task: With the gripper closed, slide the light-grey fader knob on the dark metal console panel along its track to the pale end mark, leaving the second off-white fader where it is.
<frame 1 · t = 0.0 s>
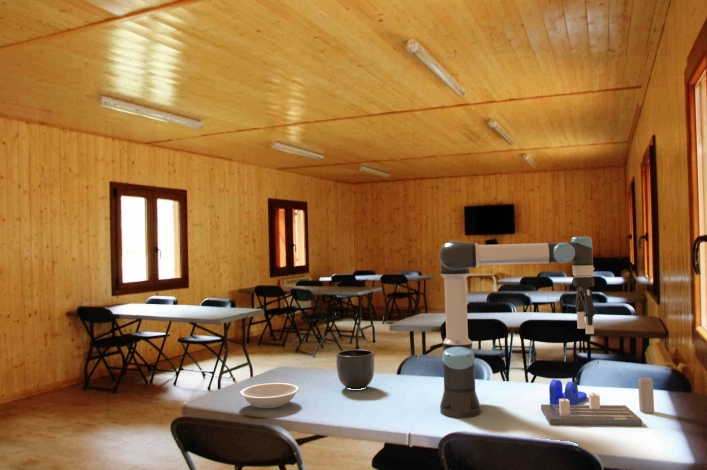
hand: (585, 331, 222), 28 cm above the table, fingers open, 13 cm apart
beverage can: (646, 412, 209), on the table
planter: (356, 389, 257), on the table
soup bowl: (270, 406, 233), on the table
fader b: (594, 401, 208), point 5 cm above the table, slide at 12.0 cm
bracket: (570, 401, 227), on the table
fader a: (564, 407, 202), point 5 cm above the table, slide at 0.0 cm
console: (588, 417, 205), on the table
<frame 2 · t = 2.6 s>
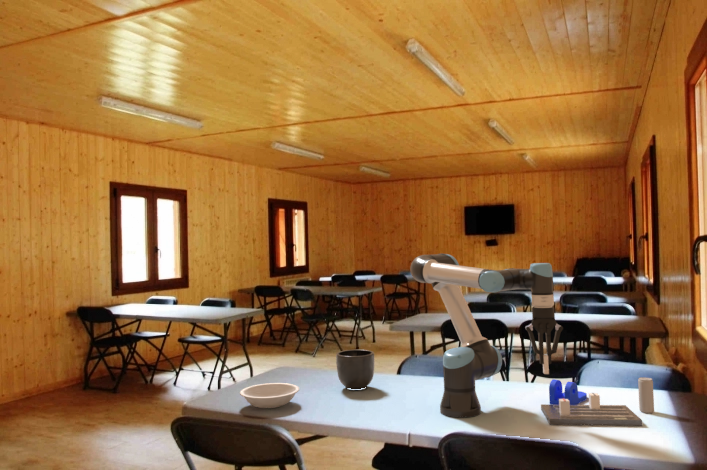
hand: (546, 373, 203), 17 cm above the table, fingers closed
nothing on the table moved.
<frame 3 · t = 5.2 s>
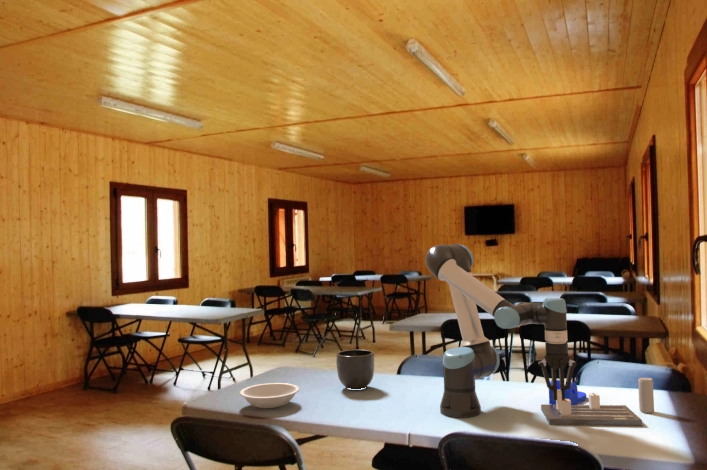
hand: (559, 409, 202), 4 cm above the table, fingers closed
fader a: (565, 407, 202), point 5 cm above the table, slide at 0.5 cm, touching gripper
everything else where it was.
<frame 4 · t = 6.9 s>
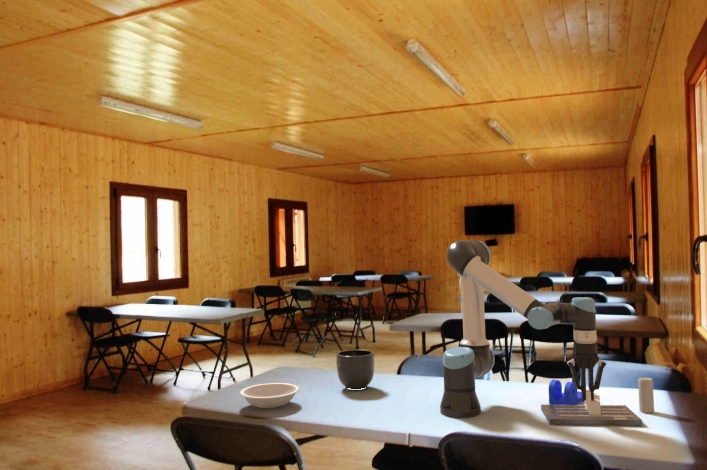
hand: (588, 409, 201), 4 cm above the table, fingers closed
fader a: (594, 407, 200), point 5 cm above the table, slide at 10.2 cm, touching gripper
everything else where it was.
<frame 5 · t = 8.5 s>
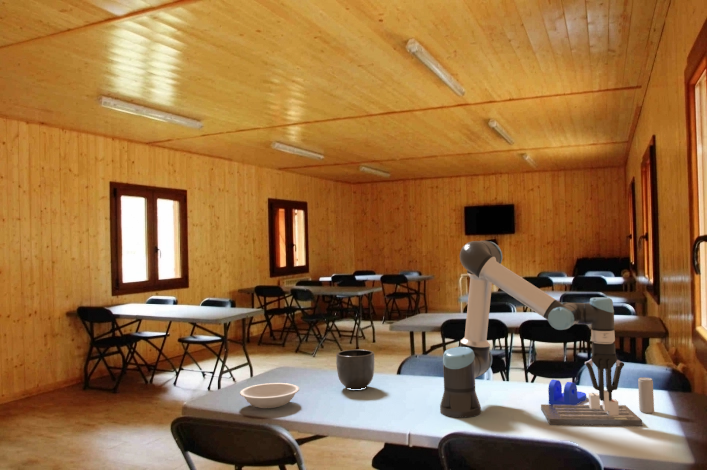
hand: (606, 409, 200), 4 cm above the table, fingers closed
fader a: (612, 407, 200), point 5 cm above the table, slide at 16.1 cm, touching gripper
everything else where it was.
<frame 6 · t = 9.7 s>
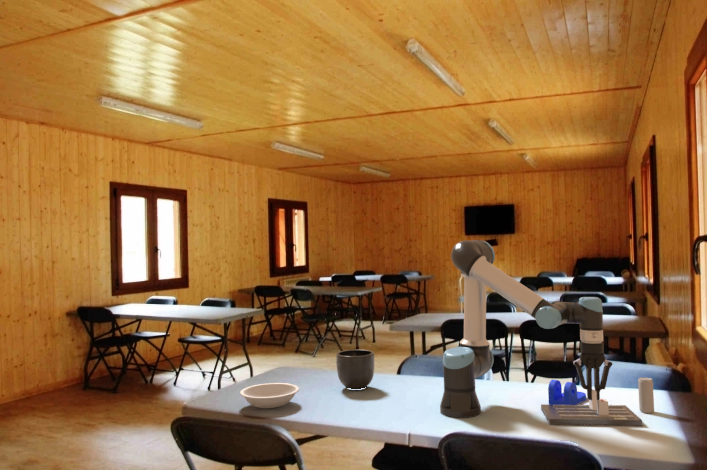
hand: (593, 408, 201), 4 cm above the table, fingers closed
fader a: (602, 407, 200), point 5 cm above the table, slide at 12.8 cm
everything else where it was.
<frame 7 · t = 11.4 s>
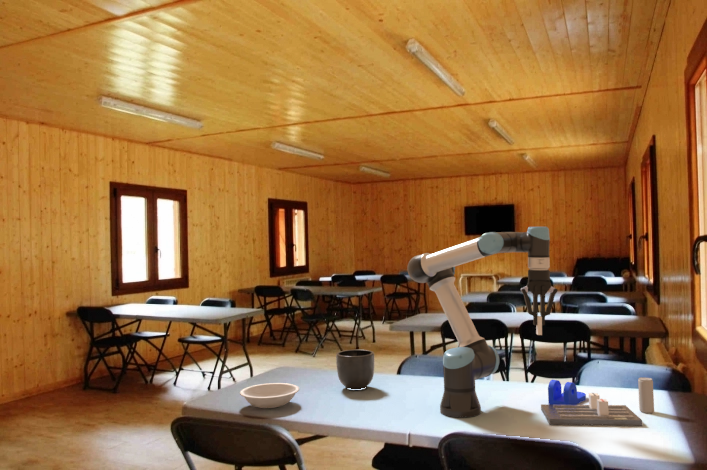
hand: (539, 334, 207), 30 cm above the table, fingers closed
nothing on the table moved.
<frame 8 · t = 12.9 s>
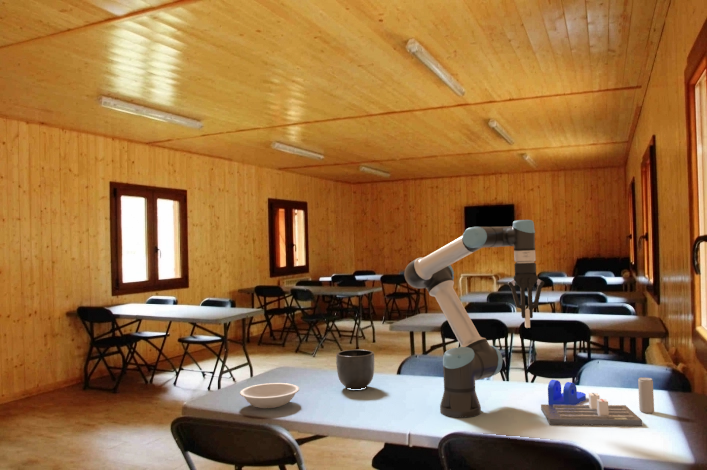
hand: (527, 327, 208), 32 cm above the table, fingers closed
nothing on the table moved.
at the end: fader a slide at 12.8 cm; fader b slide at 12.0 cm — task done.
